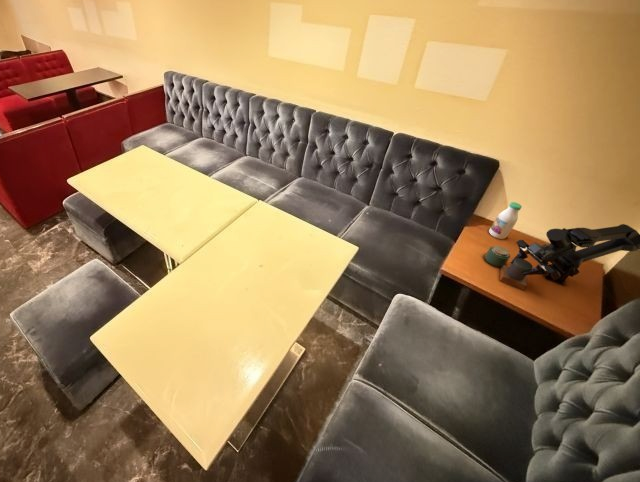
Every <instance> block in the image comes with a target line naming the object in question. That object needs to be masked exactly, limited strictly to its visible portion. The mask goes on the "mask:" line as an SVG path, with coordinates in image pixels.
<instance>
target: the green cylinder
mask: <svg viewBox="0 0 640 482" xmlns="http://www.w3.org/2000/svg"><path fill="white" fill-rule="evenodd" d="M510 258H511V254H510V252H509V250H508V249H507V248H505V247H503V246H501V245H492V246H490V247H489V249H488V250H487V252H486V253H485V255H484V256H483V259H484V261H485V263H487V264H488V265H490V266H491V267H494V268H497V269H499V268H500V269H501V268H502V266H503V265H506V263H508V261H509V259H510Z"/></svg>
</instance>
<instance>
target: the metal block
mask: <svg viewBox="0 0 640 482" xmlns="http://www.w3.org/2000/svg"><path fill="white" fill-rule="evenodd" d="M509 267H510V266H509V265H506V264H505V265H503V266H502V267H501V268H500V271H499V272H500V275H499V282H502V283H504V284H507V285H509V286H512V287H514V288H517V289H519V290H522V291H524V290H525V289H526V288H527V286H528V277H527V276H528V275H526V277H525V278H524V279H523V280H516V279H513V278H511V277H510V276H509V275H508V274H507V270H508V268H509Z"/></svg>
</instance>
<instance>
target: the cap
mask: <svg viewBox="0 0 640 482" xmlns="http://www.w3.org/2000/svg"><path fill="white" fill-rule="evenodd" d="M533 268H534V266H533V264H532V263H531V262H530V261H528V260H527V259H521V258H516V259H515V260H514V262H513V263H512V264H511V263H510V266H509V268H508V270H507V274H508V275H509V276H510V277H511V278H513V279H516V280H523V279H524V278H525V277H526V275H522V274H523V273H524V272H526V271H528V270H531V269H533Z"/></svg>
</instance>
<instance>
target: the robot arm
mask: <svg viewBox="0 0 640 482" xmlns="http://www.w3.org/2000/svg"><path fill="white" fill-rule="evenodd" d="M545 234H546V235H545V236H546V237H547V240H548V241H549V244H547V243H544V244H539V243H537V242H533V243H531V244H528V243H527V242H526V241H525V240H524V239H519V240H516V241H515V244H516V245H517V247H518V252H517V254H516V255H515V256H514V258H513V259H511V261H510V265H511V264H512V263H513V262H514V260H515V259H516V258H521V259H524V260H526V259H528V258H529V256H530V257H532V259H533V260H535V261H536V262H537V263H538V264H537V265H536V266H535V267H533V268H532V269H531V270H528V271H526V272H524V273H523V274H522V275H527V276H536V275H537V276H540V275H541V276H543V275H544V278H545V279H546V280H548V281H551V282H554V283H557V284H559V285H562V286H564V285H565V281H566V280H567V279H568V278H569V277H571V278H573V277H574V276H577V275H578V274H579V273H580V270H579V268H580V267H581V265H582V264H583V263H585V262H588V261H591V260H595V259H598V258H601V257H604V256H606V255H607V256H608V255H611V254H614V253H617V252H621V251H625V252H636V251H639V250H638V249H640V233H639V232H638V230H637V229H635V228H633V227H631V226H630V225H629V224H625V223H621V224H619V225H616V226H615V225H614V226H608V227H602V228H594V229H592V228H588V227H575V228H573V227H571V228H566V227H563V228H562V229H561V228H551V229H549V230H547V231H546V233H545ZM598 242H599V243H598ZM578 247H579V248H580V249H578V250H577V248H578ZM528 255H529V256H528ZM550 263H551V264H550Z"/></svg>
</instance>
